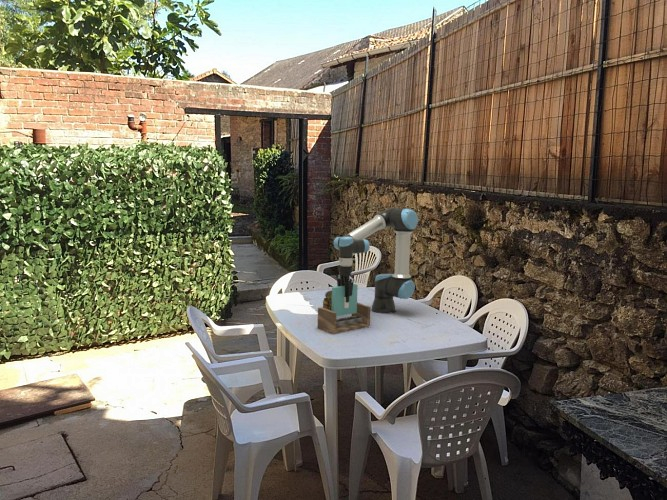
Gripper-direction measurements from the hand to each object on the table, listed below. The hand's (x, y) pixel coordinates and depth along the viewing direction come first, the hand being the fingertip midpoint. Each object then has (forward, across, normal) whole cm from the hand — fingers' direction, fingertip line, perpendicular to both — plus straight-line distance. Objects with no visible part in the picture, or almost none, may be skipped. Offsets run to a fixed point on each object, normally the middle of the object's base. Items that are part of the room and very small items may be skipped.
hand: (344, 307), depth 295 cm
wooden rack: (+12, 0, 0) cm, 12 cm away
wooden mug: (+12, -21, +5) cm, 25 cm away
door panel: (+4, 0, 0) cm, 4 cm away
